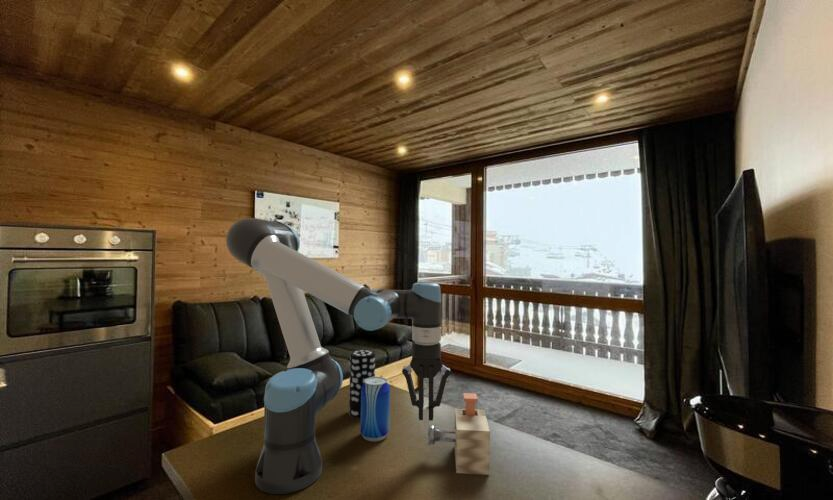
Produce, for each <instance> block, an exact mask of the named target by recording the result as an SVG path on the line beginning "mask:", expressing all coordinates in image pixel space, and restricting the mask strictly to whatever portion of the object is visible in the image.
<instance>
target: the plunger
mask: <svg viewBox="0 0 833 500" xmlns="http://www.w3.org/2000/svg"><path fill="white" fill-rule="evenodd" d="M462 397H463V402H465V404H464V405H465V407H464V409H465V415H474V416H475V409H476V403H478V402H479V401H478V400H479V399H478V394H477V393H471V392H469V393H467V392H463V394H462Z"/></svg>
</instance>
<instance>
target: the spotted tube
mask: <svg viewBox="0 0 833 500" xmlns="http://www.w3.org/2000/svg"><path fill="white" fill-rule="evenodd" d="M370 377H376V351H375V350H371V349H356V350H352V351H350V352H349V395H348V396H349V402H348V403H349V405H348V415H349V416H350V418H353V419H357V420H359V419H360V420H361V388H362V386H363V384H364V383H365V382H364V381H365V379H367V378H370Z"/></svg>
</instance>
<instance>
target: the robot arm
mask: <svg viewBox="0 0 833 500" xmlns="http://www.w3.org/2000/svg"><path fill="white" fill-rule="evenodd" d="M225 238H226V239H225V243H226V248H227V250H228V252H229V253H230V254H231V256H232V257H233V259H236V260H237V261H239V262H240V263H242V264H244V265H246V266H248V267H250V268H251V269H253V270H254V271H256V272H257V274H259V275H261V276H263V277H264V279H265V282H266V285H267V288H268V291H269V294H270V297H271V301H272V304H273V306H274V307H273V308H274V309H275V313H276V317H277V319H278V322H279V326H280V330H281V333H282V335H283V339H284V341H285V345H286V348H287V351H288V354H289V362H288V364H287V365H286V368H287V370H286V371H285V370H281V371H280V372H277V373H275V374H274V375H272V376H271V377H270V378H269V379H268V381H267V383H265V390H264V396H263V403H264V404H263V405H264V406H263V407H264V412H263V416H264V417H263V419H264V420H263V423H264V424H263V446H262V450H261V452H260V455H259V458H258V461H257V464H256V468H255V472H254V483H255V484H254V485H256V487H257V488H258V489H259V490H260V491H261V492H263V493H267V494H271V495H287V494H291V493H296V492H299V491H301V490H303V489H306V488H307V487H309V486H311V485H312V484H313V483H315V482H316V481H317V480H318V479H319V478H320V476H321V474H322V471H323V459H322V455H321V454H322V453H321V451H320V449H319V445H318V442H317V439H316V418H317V417H316V416H317V414H318V413H319V412H320V411H321V410H322V409H323V408H325V406H326V405H327V404H329V403H330V402H331V401H333V400H334V399H335V398H336V396H337V395H338V393H339V392H340V390H341V388H342V385H343V381H344V375H343V370H342V368H341V366H340V364H339V362H337V361H336V360H334V359H333V358H332V357H331V355H330V352H329V350H328V349H327V348H324V347H322V345H321V341H320V340H319V338H320V337H319V336H318V333H317V330H316V327H315V326H316V325H315V323H314V321H313V318H312V313H311V312H310V308H309V305H308V301H307V299H306V295H305V293H304V292H306V293H307V294H308V295H311V296H313V297H315V298H316V299H318V300H321V301H322V302H324V303H326V304H328V305H329V306H332V307H334V308H336V309H338V311H341V312H343V313H344V314H347V315H349V316H350V317H352V318H354V321H355V323H356V324H357V325H358V327H359V328H361V329H363V330H365V331H368V332H370V331H372V332H373V331H376V330H379V329H382V328H384V327H385V326H386V325H387V324H388V323H389V322H391V321H392V320H394V319H407V320H408V319H411V321H412V325H411V326H412V328H411V329H412V332H411V335H412V338H411V340H412V341H413V342H412V344H411V345H412V346H411V347H412V348H411V353H412V354H411V360H410V362H409V364H408V365H406V366H405V365H404V366H403V367H402V370H401V373H402V375H403V376H404V377H405V381H406V385H407V388H408V389H407V390H408V393H409V398H410V402H411V405H412V406H413V407H417V408H418V419H419V420H418V421H422V436H424V435H425V436H428V434H429V425H430V421H434V408H436V407H437V408H438V407H440V406H441V403H442V398H443V395H444V391H445V387H446V383H447V379H448V378H449V377H450V375H451V374H452V373H451V368H450V367H447V366H446V365H444V364H443V361H442V353H441V350H442V344H441V340H442V328H441V327H442V324H441V323H442V294H441V293H442V292H441V286H440V284H438V283H437V282H425V281H424V282H415V283H413V284H412V288H411V289H405V290H404V289H385V288H379V289H370V288H367V286H364V285H363V284H361V283H359V282H357V281H355V280H353V279H351V278H349V277H347V276H345V275H344V274H341V273H340V272H337V271H336V270H333V269H332V268H330V267H328V266H326V265H325V264H322V263H320V262H318V261H316V260H314V259H312V258H311V257H309V256H307V255H304V253H300V252H299V250H300V246H301V245H300V238H299V235H298V233H297V232H296V230H295V229H294V228H293V227H291V226H290V225H288V224H286V223H284V222H281V221H279V220H277V221H276V220H268V219H267V220H266V219H260V218H257V217H256V218H255V217H246V218H242V219H239V220H238V221H236V222H234V223H233V225H231V226H230V228H229V229H228V231H227V234H226V237H225ZM412 370H413V372H414V374H415V375H416V376H417V377H418V398H417V394H416V390H415V386H414V385H415V384H414V380H413V376H412ZM440 371H441V372H440ZM439 372H440V374H441V378H440V381H439V386H438V389H437V394H436V398H435V399H434V394H435V393H434V389H435V388H434V384H435V383H434V378H435V377H436V376H437V375H438V374H439ZM425 379H428V404H424V402H425V399H424V397H425V394H424V393H425Z"/></svg>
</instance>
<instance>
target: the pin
mask: <svg viewBox="0 0 833 500" xmlns="http://www.w3.org/2000/svg"><path fill="white" fill-rule="evenodd" d="M427 437H428V438H427V439H428V441H427V442H428V445H430V446H431V445H432V446H435V444H436V442H439V443H440V442H443V443H444V442H445V443H454V442H456V429H455V428H454V429H453V428H436V425H435V424H429V434H428V435H427Z"/></svg>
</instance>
